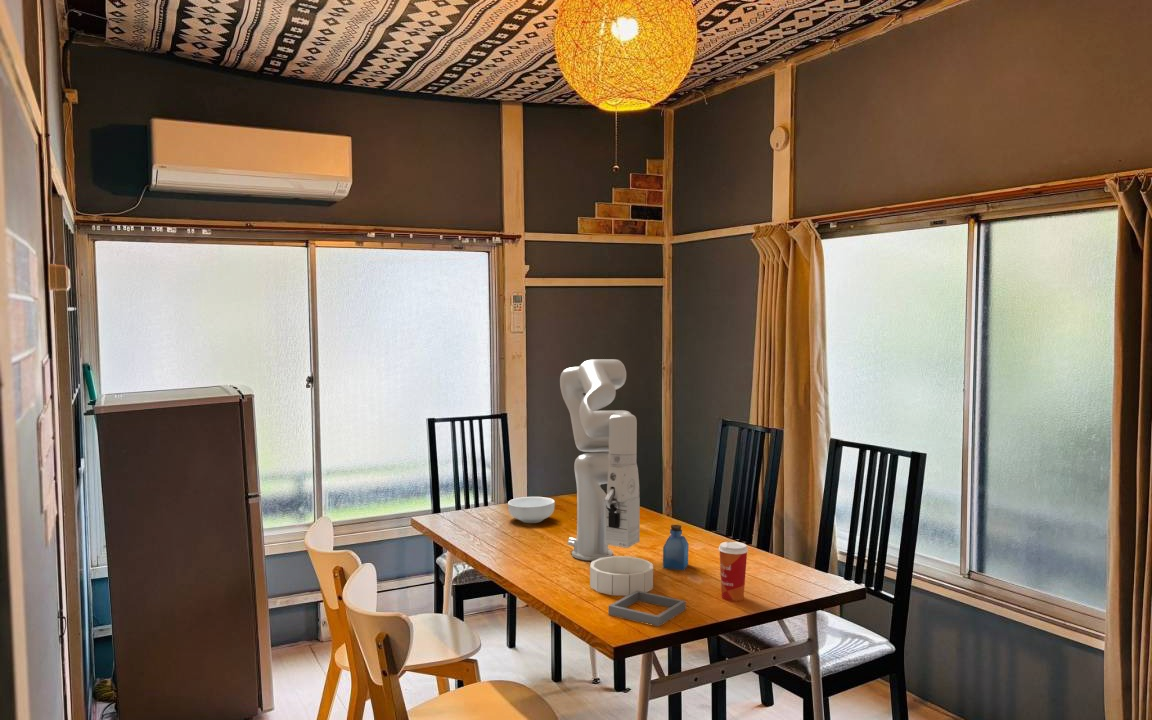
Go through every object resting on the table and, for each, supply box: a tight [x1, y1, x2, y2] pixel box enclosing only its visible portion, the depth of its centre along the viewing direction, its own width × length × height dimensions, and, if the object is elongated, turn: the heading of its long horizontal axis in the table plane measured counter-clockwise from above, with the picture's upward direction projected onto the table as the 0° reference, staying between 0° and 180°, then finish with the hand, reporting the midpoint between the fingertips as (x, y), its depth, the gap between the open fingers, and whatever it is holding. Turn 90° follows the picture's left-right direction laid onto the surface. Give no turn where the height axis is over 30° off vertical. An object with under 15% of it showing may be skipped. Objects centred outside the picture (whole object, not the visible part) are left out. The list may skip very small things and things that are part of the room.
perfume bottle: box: [662, 524, 689, 571], centre depth 243 cm, size 6×6×12 cm
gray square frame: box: [608, 590, 687, 627], centre depth 205 cm, size 14×14×2 cm
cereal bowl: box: [507, 496, 556, 524], centre depth 297 cm, size 17×17×7 cm
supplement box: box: [605, 496, 641, 549], centre depth 225 cm, size 7×7×13 cm
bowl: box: [589, 555, 654, 597], centre depth 226 cm, size 17×17×6 cm
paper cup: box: [718, 541, 749, 602], centre depth 216 cm, size 8×8×14 cm
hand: (622, 523), depth 225 cm, fingers closed on supplement box, 7 cm apart
